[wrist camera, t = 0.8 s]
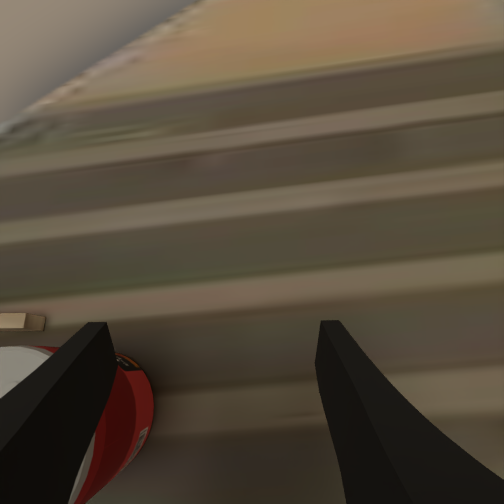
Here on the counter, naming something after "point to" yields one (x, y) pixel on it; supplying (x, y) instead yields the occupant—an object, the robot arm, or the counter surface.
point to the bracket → (21, 322)
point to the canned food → (110, 425)
